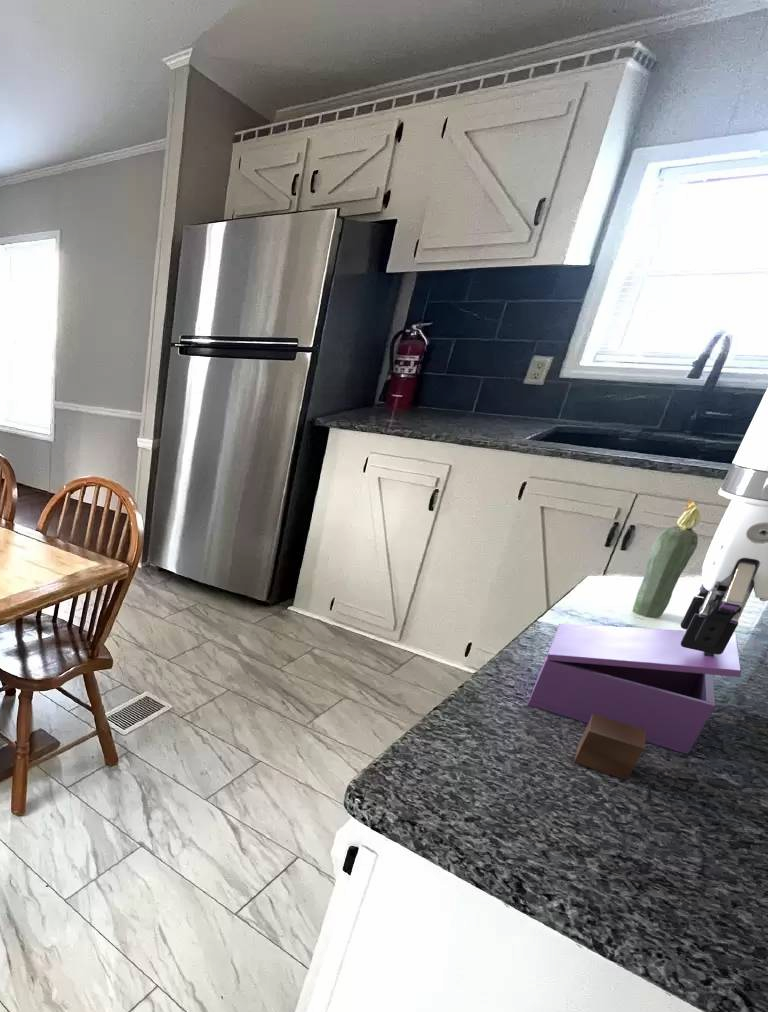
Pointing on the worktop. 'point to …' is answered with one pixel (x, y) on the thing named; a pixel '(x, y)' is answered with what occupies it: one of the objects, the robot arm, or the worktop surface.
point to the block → (610, 747)
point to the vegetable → (667, 564)
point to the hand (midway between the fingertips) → (700, 638)
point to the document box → (629, 698)
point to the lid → (640, 649)
